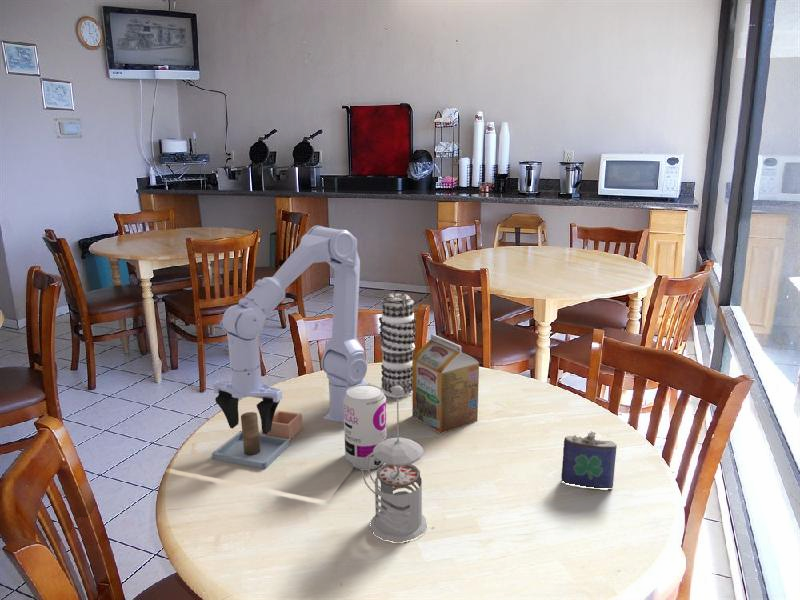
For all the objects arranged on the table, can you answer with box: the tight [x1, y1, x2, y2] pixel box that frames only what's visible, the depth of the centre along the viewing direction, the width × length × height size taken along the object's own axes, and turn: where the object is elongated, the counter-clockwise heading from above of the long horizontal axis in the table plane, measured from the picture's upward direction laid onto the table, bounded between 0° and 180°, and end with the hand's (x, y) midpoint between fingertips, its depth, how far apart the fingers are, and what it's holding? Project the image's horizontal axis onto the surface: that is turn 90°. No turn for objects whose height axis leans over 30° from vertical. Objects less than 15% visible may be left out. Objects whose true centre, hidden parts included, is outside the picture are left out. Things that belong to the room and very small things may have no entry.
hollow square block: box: [264, 410, 303, 441], centre depth 132 cm, size 6×6×4 cm
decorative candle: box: [378, 292, 418, 399], centre depth 151 cm, size 9×9×25 cm
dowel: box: [240, 411, 260, 455], centre depth 123 cm, size 3×3×8 cm
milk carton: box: [411, 333, 480, 434], centre depth 137 cm, size 11×11×19 cm
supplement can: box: [343, 384, 388, 471], centre depth 120 cm, size 8×8×15 cm
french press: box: [361, 385, 428, 542], centre depth 99 cm, size 10×12×25 cm
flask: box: [561, 431, 618, 489], centre depth 111 cm, size 9×3×11 cm, turn 74°
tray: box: [211, 430, 291, 470], centre depth 124 cm, size 12×10×2 cm
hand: (250, 429), depth 123 cm, fingers open, 7 cm apart
